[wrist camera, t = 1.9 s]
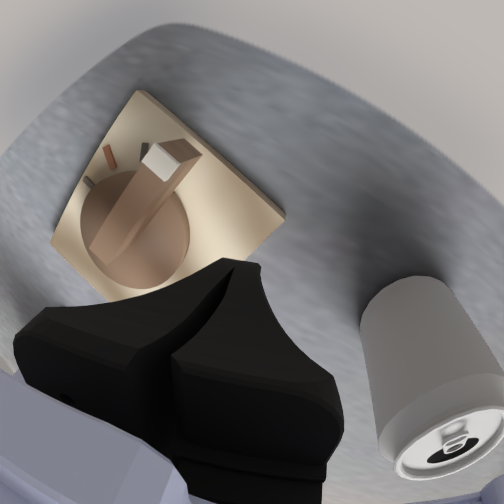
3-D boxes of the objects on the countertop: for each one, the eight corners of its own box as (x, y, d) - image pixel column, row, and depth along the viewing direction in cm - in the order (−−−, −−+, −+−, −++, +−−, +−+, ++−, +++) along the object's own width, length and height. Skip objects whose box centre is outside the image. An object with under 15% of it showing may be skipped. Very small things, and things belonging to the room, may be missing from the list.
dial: (150, 300, 22) (118, 341, 18) (75, 230, 21) (31, 257, 16) (249, 188, 18) (231, 212, 13) (153, 105, 17) (108, 104, 12)
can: (372, 367, 23) (391, 500, 12) (344, 293, 21) (366, 444, 10) (456, 333, 21) (513, 452, 10) (443, 253, 19) (534, 372, 8)
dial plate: (163, 334, 25) (157, 345, 24) (58, 237, 23) (48, 244, 22) (286, 214, 20) (284, 221, 18) (145, 90, 18) (135, 89, 16)
